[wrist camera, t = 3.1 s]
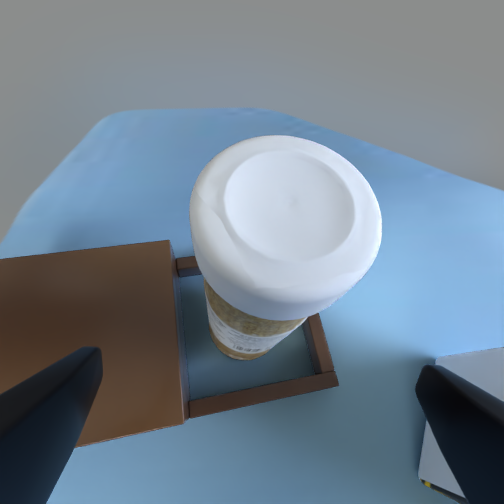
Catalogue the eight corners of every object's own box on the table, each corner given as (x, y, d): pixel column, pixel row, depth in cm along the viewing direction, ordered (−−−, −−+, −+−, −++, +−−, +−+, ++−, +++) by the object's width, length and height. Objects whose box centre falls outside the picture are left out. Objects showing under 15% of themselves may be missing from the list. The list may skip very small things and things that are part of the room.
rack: (330, 386, 18) (359, 385, 14) (11, 455, 15) (-56, 477, 11) (294, 251, 21) (309, 223, 18) (32, 285, 18) (-14, 260, 15)
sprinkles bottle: (282, 295, 20) (384, 144, 8) (275, 367, 18) (399, 317, 6) (214, 284, 20) (209, 112, 7) (200, 356, 18) (161, 279, 5)
